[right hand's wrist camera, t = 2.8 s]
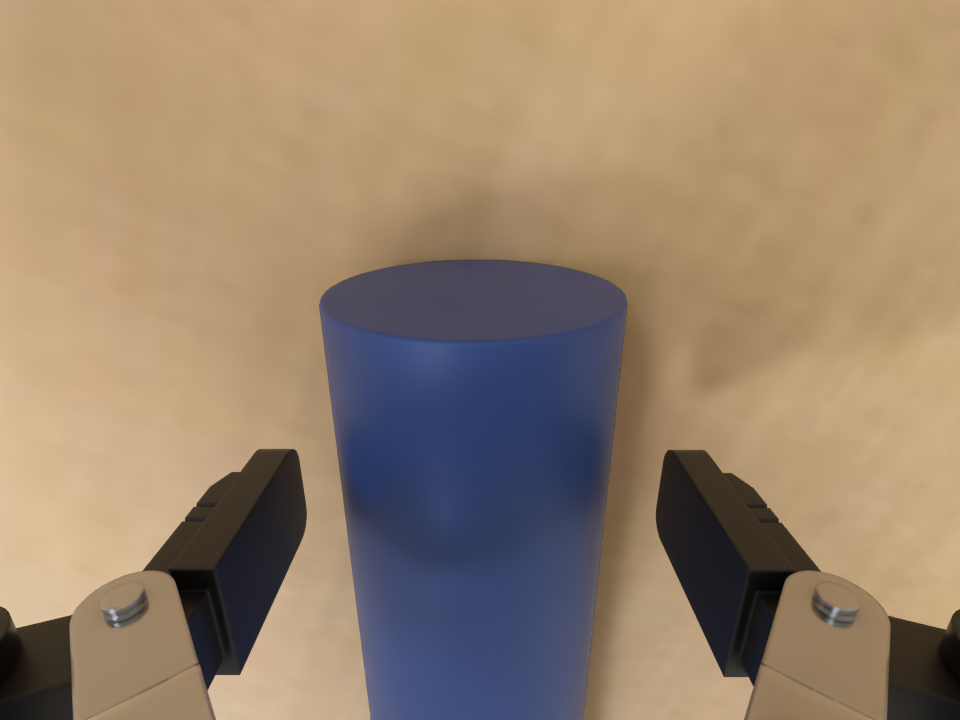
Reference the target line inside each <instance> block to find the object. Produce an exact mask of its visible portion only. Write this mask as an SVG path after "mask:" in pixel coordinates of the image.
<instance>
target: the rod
mask: <svg viewBox="0 0 960 720" xmlns="http://www.w3.org/2000/svg"><path fill="white" fill-rule="evenodd" d="M319 308H320V316H321V324H322V332H323V340H324V348H325V356H326V364H327V372H328V380H329V388H330V396H331V404H332V412H333V420H334V428H335V436H336V444H337V452H338V460H339V468H340V476H341V484H342V492H343V500H344V508H345V516H346V524H347V532H348V540H349V548H350V556H351V564H352V572H353V580H354V588H355V596H356V604H357V613H358V621H359V629H360V637H361V645H362V653H363V661H364V669H365V677H366V685H367V693H368V701H369V709H370V717H371V720H583V715H584V705H585V696H586V687H587V677H588V668H589V659H590V649H591V640H592V631H593V621H594V612H595V603H596V593H597V584H598V575H599V565H600V556H601V547H602V537H603V528H604V519H605V509H606V500H607V491H608V481H609V472H610V462H611V453H612V444H613V434H614V425H615V416H616V406H617V397H618V388H619V378H620V369H621V360H622V350H623V341H624V332H625V322H626V313H627V300H626V296H625V294H624V293H623V292H622V290H621V289H619V288H618V287H617V286H616V285H614V284H612V283H610V282H609V281H607V280H604V279H602V278H600V277H597V276H594V275H591V274H588V273H585V272H581V271H577V270H573V269H569V268H564V267H559V266H552V265H546V264H538V263H529V262H518V261H501V260H453V261H436V262H425V263H415V264H408V265H400V266H395V267H389V268H384V269H379V270H375V271H371V272H367V273H363V274H360V275H357V276H354V277H351V278H349V279H346V280H344V281H342V282H339V283H338V284H336V285H334V286H332V287H331V288H330V289H328V290H327V291H326V292H325V293H324V294H323V296H322V297H321V300H320V304H319Z"/></svg>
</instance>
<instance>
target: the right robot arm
mask: <svg viewBox="0 0 960 720" xmlns="http://www.w3.org/2000/svg"><path fill="white" fill-rule="evenodd" d="M306 519H307V510H306V502H305V495H304V488H303V482H302V475H301V468H300V461H299V456H298V453H297V452H296V450H294V449H259V450H257V451H256V452H255V453H254V455H253V456H252V457H251V459H250V460H249V461H248V463H247V464H246V465H245V467H244V468H243V469H242V471H241V472H231V473H230V474H228V475H227V476H225V477H224V478H222V479H221V480H219V481H218V482H217V483H215V484H214V485H212V486H211V487H210V488H209V489H208V490H207V491H206V493H205V494H204V495H203V496H202V498H201V499H200V500H199V501H198V503H197V506H196V507H194V508H193V509H192V510H191V511H190V513H189V514H188V515H187V516H186V518H185V522H182V523H181V524H180V525H179V526H178V528H177V529H176V530H175V531H174V533H173V534H172V535H171V536H170V537H169V539H168V540H167V541H166V542H165V544H164V545H163V546H162V547H161V549H160V550H159V551H158V552H157V554H156V555H155V556H154V557H153V559H152V560H151V561H150V562H149V564H148V565H147V566H146V567H145V569H144V570H143V571H141V572H136V573H131V574H128V575H125V576H122V577H119V578H117V579H115V580H113V581H111V582H109V583H107V584H105V585H103V586H102V587H100V588H98V589H97V590H95V591H94V592H93V593H91V594H90V595H89V596H88V597H87V598H86V599H85V600H84V601H82V602H81V604H80V605H79V606H78V607H77V608H76V610H75V612H74V613H73V615H70V616H66V617H62V618H58V619H54V620H49V621H45V622H41V623H37V624H33V625H28V626H24V627H20V628H16V627H15V625H14V623H13V620H12V618H11V616H10V614H9V612H8V611H7V610H6V609H5V608H3V607H0V720H216V719H215V715H214V712H213V709H212V705H211V702H210V698H209V695H208V689H209V687H210V685H211V683H212V681H213V679H214V677H215V675H240V674H241V671H242V669H243V667H244V665H245V663H246V660H247V658H248V656H249V654H250V652H251V650H252V647H253V645H254V643H255V641H256V639H257V636H258V634H259V632H260V630H261V628H262V626H263V623H264V621H265V619H266V617H267V615H268V612H269V610H270V608H271V606H272V604H273V602H274V599H275V597H276V595H277V593H278V591H279V588H280V586H281V584H282V582H283V580H284V578H285V575H286V573H287V571H288V569H289V567H290V564H291V562H292V560H293V558H294V556H295V554H296V551H297V549H298V547H299V545H300V543H301V540H302V538H303V535H304V532H305V527H306ZM656 524H657V530H658V534H659V537H660V540H661V542H662V544H663V546H664V549H665V551H666V553H667V555H668V557H669V559H670V562H671V564H672V566H673V568H674V570H675V572H676V575H677V577H678V579H679V581H680V583H681V585H682V587H683V590H684V592H685V594H686V596H687V598H688V600H689V603H690V605H691V607H692V609H693V611H694V613H695V615H696V618H697V620H698V622H699V624H700V626H701V628H702V631H703V633H704V635H705V637H706V639H707V641H708V643H709V646H710V648H711V650H712V652H713V654H714V656H715V659H716V661H717V663H718V665H719V667H720V669H721V672H722V674H723V676H724V677H749V678H750V680H751V682H752V684H753V686H754V688H753V691H752V695H751V698H750V702H749V705H748V709H747V712H746V715H745V719H744V720H960V609H959V610H957V611H956V612H955V613H954V614H953V616H952V618H951V620H950V622H949V625H948V627H947V629H946V630H945V629H941V628H936V627H932V626H928V625H924V624H920V623H915V622H911V621H907V620H903V619H898V618H895V617H891V616H888V615H887V613H886V612H885V610H884V608H883V607H882V606H881V605H880V604H879V602H878V601H876V600H875V599H874V598H873V597H872V596H871V595H870V594H869V593H867V592H866V591H865V590H863V589H862V588H860V587H858V586H857V585H855V584H853V583H851V582H849V581H847V580H845V579H843V578H841V577H838V576H835V575H832V574H829V573H824V572H821V571H820V570H819V569H818V567H817V566H816V565H815V564H814V562H813V561H812V560H811V559H810V557H809V556H808V555H807V554H806V553H805V551H804V550H803V549H802V548H801V546H800V545H799V544H798V543H797V541H796V540H795V539H794V538H793V536H792V535H791V534H790V533H789V532H788V530H787V529H786V528H785V527H784V525H783V524H782V523H779V521H778V518H777V517H776V515H775V514H774V513H773V512H772V511H771V509H770V508H767V504H766V503H765V502H764V501H763V499H762V498H761V497H760V496H759V495H758V493H757V492H756V491H755V490H754V488H753V487H751V486H750V485H748V484H747V483H745V482H744V481H742V480H741V479H739V478H738V477H736V476H735V475H733V474H732V473H722V471H721V470H720V469H719V467H718V466H717V465H716V463H715V462H714V461H713V460H712V458H711V457H710V456H709V454H708V453H707V452H706V451H705V450H668V451H667V452H666V454H665V457H664V461H663V467H662V474H661V481H660V487H659V494H658V501H657V507H656Z"/></svg>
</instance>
